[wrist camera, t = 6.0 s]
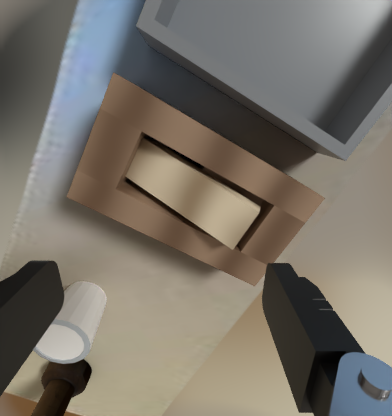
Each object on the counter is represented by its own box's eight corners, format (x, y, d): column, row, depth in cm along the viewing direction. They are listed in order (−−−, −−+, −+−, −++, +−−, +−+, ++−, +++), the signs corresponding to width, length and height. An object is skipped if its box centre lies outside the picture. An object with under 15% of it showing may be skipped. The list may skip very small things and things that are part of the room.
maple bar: (139, 175, 24) (125, 176, 22) (156, 140, 23) (143, 137, 21) (236, 240, 22) (232, 250, 20) (260, 207, 21) (259, 212, 19)
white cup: (50, 295, 32) (13, 341, 26) (82, 268, 30) (51, 309, 24) (89, 324, 34) (64, 373, 27) (121, 299, 32) (103, 345, 26)
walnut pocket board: (94, 179, 26) (66, 197, 21) (133, 83, 23) (113, 72, 17) (243, 254, 30) (254, 286, 24) (297, 180, 26) (325, 198, 21)
